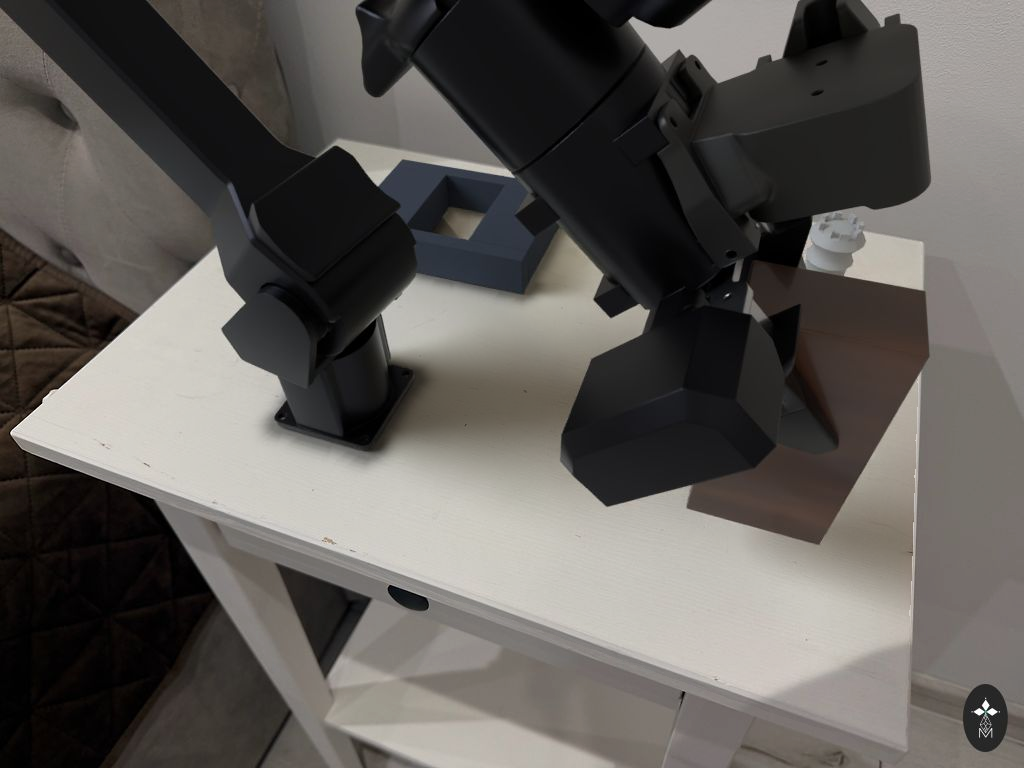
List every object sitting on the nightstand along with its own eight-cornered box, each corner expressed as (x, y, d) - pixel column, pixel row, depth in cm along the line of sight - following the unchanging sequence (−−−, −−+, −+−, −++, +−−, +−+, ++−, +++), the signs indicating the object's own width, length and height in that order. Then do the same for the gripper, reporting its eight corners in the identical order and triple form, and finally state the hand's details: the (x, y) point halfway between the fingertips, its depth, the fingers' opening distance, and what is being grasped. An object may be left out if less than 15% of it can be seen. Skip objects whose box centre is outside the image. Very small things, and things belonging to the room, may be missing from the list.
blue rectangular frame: (523, 295, 50) (522, 261, 47) (350, 258, 53) (342, 225, 51) (563, 218, 56) (564, 185, 54) (407, 190, 59) (402, 158, 57)
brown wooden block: (819, 546, 31) (931, 356, 22) (685, 509, 33) (740, 317, 24) (823, 484, 33) (926, 290, 25) (698, 452, 35) (752, 258, 26)
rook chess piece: (853, 333, 46) (899, 231, 40) (800, 355, 45) (840, 253, 39) (806, 294, 49) (843, 194, 43) (755, 314, 47) (786, 213, 42)
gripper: (771, 70, 11) (1141, 603, 16) (829, -162, 23) (1032, 190, 28) (396, 331, 19) (730, 634, 24) (585, 57, 30) (780, 300, 36)
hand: (829, 414), depth 28 cm, fingers closed on brown wooden block, 3 cm apart
